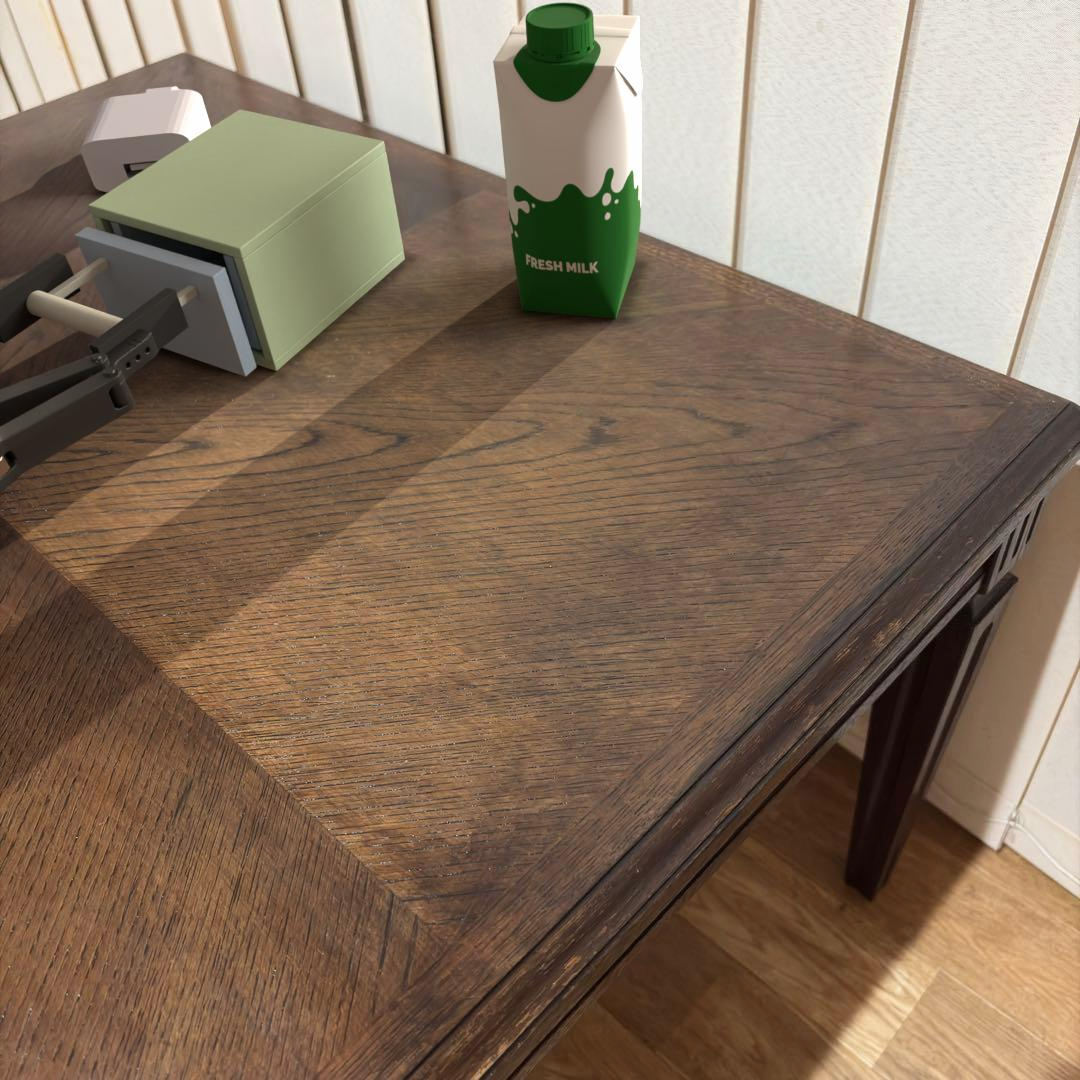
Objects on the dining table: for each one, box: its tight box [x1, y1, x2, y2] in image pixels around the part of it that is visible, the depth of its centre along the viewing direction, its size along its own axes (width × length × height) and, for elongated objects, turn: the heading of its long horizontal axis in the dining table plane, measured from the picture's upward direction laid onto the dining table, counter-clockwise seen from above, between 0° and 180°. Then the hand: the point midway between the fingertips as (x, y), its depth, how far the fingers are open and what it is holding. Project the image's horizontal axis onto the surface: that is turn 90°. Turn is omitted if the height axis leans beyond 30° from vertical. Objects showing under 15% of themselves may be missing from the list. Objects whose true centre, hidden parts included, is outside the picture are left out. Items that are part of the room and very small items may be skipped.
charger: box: [80, 85, 212, 193], centre depth 97 cm, size 5×9×15 cm
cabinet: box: [88, 109, 406, 372], centre depth 77 cm, size 16×14×10 cm
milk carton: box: [492, 2, 644, 320], centre depth 71 cm, size 9×9×20 cm
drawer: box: [27, 221, 262, 377], centre depth 74 cm, size 21×12×8 cm, turn 150°
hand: (121, 289), depth 68 cm, fingers closed on drawer, 9 cm apart
